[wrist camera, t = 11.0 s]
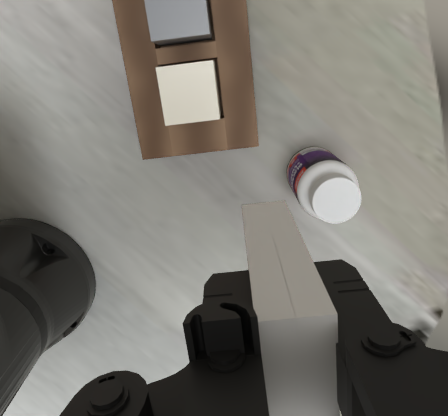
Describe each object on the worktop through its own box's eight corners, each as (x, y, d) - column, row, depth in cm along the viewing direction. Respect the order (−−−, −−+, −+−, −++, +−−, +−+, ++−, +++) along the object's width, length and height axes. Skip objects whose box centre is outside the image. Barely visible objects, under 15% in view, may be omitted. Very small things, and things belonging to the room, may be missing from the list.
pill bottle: (283, 150, 39) (300, 174, 30) (335, 142, 39) (369, 163, 29) (288, 200, 41) (307, 236, 31) (339, 192, 40) (372, 226, 31)
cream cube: (173, 119, 36) (165, 125, 31) (165, 68, 35) (155, 67, 30) (220, 113, 36) (220, 119, 31) (214, 62, 34) (212, 60, 30)
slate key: (161, 46, 34) (151, 41, 29) (152, -12, 33) (139, -27, 28) (212, 39, 34) (209, 33, 29) (205, -19, 32) (201, -35, 28)
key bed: (149, 152, 39) (142, 159, 36) (96, -135, 31) (81, -160, 28) (256, 140, 39) (258, 146, 35) (229, -155, 31) (229, -183, 27)
